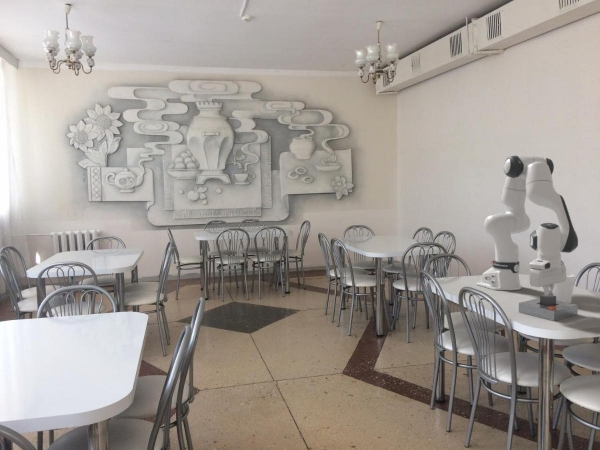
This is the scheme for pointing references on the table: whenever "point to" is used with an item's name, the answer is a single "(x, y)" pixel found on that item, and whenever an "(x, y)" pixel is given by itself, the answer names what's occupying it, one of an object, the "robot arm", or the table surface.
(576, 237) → the robot arm
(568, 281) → the foam cup
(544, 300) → the plug
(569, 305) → the socket
